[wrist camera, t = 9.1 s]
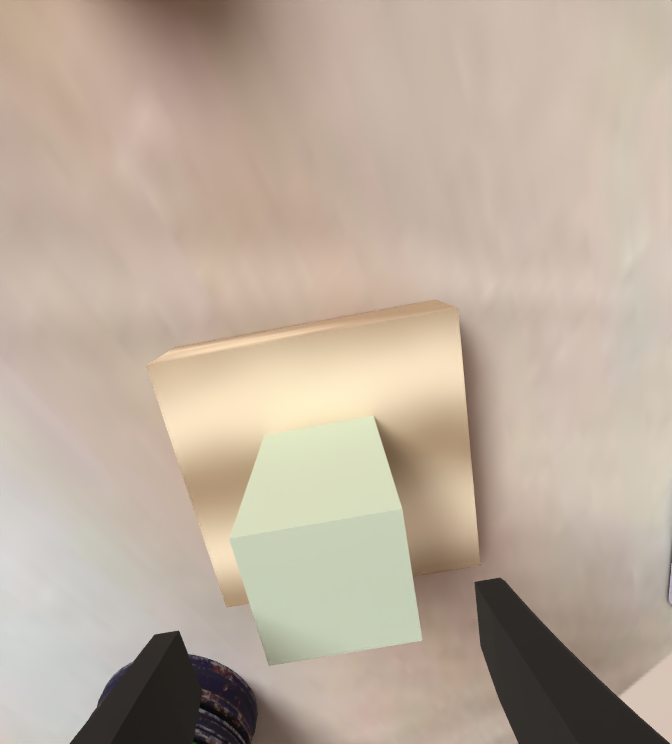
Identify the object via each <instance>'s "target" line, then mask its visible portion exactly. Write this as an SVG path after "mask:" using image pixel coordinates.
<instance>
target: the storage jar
mask: <svg viewBox="0 0 672 744" xmlns="http://www.w3.org/2000/svg"><path fill="white" fill-rule="evenodd" d="M188 655H189V654H188ZM189 658H190V660H191V663H192V665H193V668H194V671H195V673H196V676H197V678H198V681H199V683H200V686H201V689H202V696H201V702H200V708H199V714H198V720H197V725H196V730H195V735H194V740H193V744H253V743H252V737H253V735H254V732H255V727H256V720H257V704H256V700H255V697H254V695H253V693H252V691H251V689H250V688H249V686H248V685H247V684H246V682H245V681H244V680H243V679H242V678H241V677H240V676H239V675H237V674H236V673H235V672H233V671H232V670H230V669H229V668H228V667H226V666H224V665H222V664H220V663H218V662H215V661H213V660H210V659H207V658H204V657H199V656H195V655H189ZM132 663H133V662H132ZM132 663H130V664H128V665H127V666H125V667H123V668H122V669H120V670H119V671H118V672H117V673H116V674H114V675H113V677H112V678H111V679H110V680H109V682H108V683H107V685H106V687H105V689H104V691H103V693H102V695H101V697H100V699H99V701H98V705H97V708H98V707H99V706H100V705H101V703H102V702H103V701H104V699H105V698H106V697H107V695H108V694H109V693H110V692H111V690H112V689H113V688H114V686H115V685H116V684H117V683H118V681H119V680H120V679H121V677H122V676H123V675H124V673H125V672H126V671H127V670H128V668H129V667H130V666H131V664H132ZM97 708H96V709H95V710H94V712H95V711H96V710H97ZM94 712H93V713H94ZM93 713H92V714H91V716H92V715H93ZM91 716H90V717H91Z"/></svg>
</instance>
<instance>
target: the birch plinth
mask: <svg viewBox="0 0 672 744" xmlns="http://www.w3.org/2000/svg"><path fill="white" fill-rule="evenodd" d="M146 368H147V371H148V374H149V377H150V380H151V383H152V386H153V389H154V392H155V394H156V397H157V400H158V403H159V406H160V409H161V412H162V415H163V418H164V421H165V424H166V427H167V430H168V433H169V436H170V439H171V442H172V445H173V448H174V451H175V454H176V457H177V460H178V463H179V466H180V469H181V472H182V475H183V478H184V481H185V484H186V487H187V490H188V493H189V496H190V499H191V502H192V505H193V508H194V511H195V514H196V517H197V520H198V523H199V526H200V529H201V532H202V535H203V538H204V541H205V544H206V547H207V550H208V553H209V556H210V559H211V562H212V565H213V568H214V571H215V574H216V577H217V580H218V583H219V586H220V589H221V592H222V595H223V598H224V601H225V604H226V607H232V606H238V605H244V604H250V603H249V600H248V597H247V594H246V591H245V587H244V584H243V581H242V578H241V575H240V571H239V568H238V565H237V562H236V559H235V556H234V552H233V549H232V546H231V543H230V540H229V538H230V535H231V532H232V529H233V526H234V523H235V520H236V517H237V514H238V511H239V508H240V505H241V502H242V499H243V497H244V494H245V491H246V488H247V485H248V482H249V479H250V476H251V473H252V470H253V467H254V464H255V461H256V458H257V455H258V453H259V450H260V447H261V444H262V441H263V438H264V435H270V434H275V433H281V432H286V431H292V430H298V429H303V428H309V427H315V426H320V425H326V424H331V423H337V422H343V421H348V420H354V419H359V418H365V417H371V416H374V419H375V422H376V425H377V429H378V432H379V435H380V438H381V442H382V445H383V448H384V451H385V455H386V458H387V461H388V464H389V467H390V471H391V474H392V477H393V480H394V484H395V487H396V490H397V493H398V497H399V500H400V503H401V506H402V510H403V517H404V523H405V530H406V536H407V543H408V549H409V556H410V563H411V569H412V576H418V575H424V574H430V573H436V572H442V571H448V570H454V569H460V568H466V567H472V566H478V565H480V554H479V543H478V531H477V520H476V509H475V497H474V486H473V474H472V463H471V451H470V440H469V429H468V417H467V406H466V394H465V383H464V372H463V360H462V349H461V337H460V326H459V314H458V308H456V307H453V306H451V305H448V304H445V303H443V302H440V301H438V300H432V301H427V302H421V303H416V304H410V305H405V306H399V307H394V308H389V309H383V310H378V311H372V312H367V313H361V314H356V315H350V316H345V317H340V318H334V319H329V320H323V321H318V322H312V323H307V324H301V325H296V326H290V327H285V328H280V329H274V330H269V331H263V332H258V333H252V334H247V335H241V336H236V337H230V338H225V339H220V340H214V341H209V342H203V343H198V344H192V345H187V346H181V347H176V348H174V349H172V350H170V351H169V352H167V353H165V354H164V355H162V356H160V357H159V358H157V359H155V360H154V361H152V362H150V363H149V364H147V365H146Z"/></svg>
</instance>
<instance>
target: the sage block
mask: <svg viewBox="0 0 672 744" xmlns="http://www.w3.org/2000/svg"><path fill="white" fill-rule="evenodd" d="M229 540H230V543H231V546H232V549H233V552H234V556H235V559H236V562H237V565H238V568H239V571H240V575H241V578H242V581H243V584H244V587H245V591H246V594H247V597H248V600H249V603H250V607H251V610H252V613H253V616H254V619H255V623H256V626H257V629H258V632H259V635H260V639H261V642H262V645H263V648H264V651H265V655H266V658H267V661H268V664H269V666H270V665H276V664H283V663H289V662H295V661H301V660H307V659H313V658H319V657H325V656H332V655H338V654H344V653H350V652H356V651H362V650H368V649H374V648H381V647H387V646H393V645H399V644H405V643H411V642H417V641H422V634H421V628H420V621H419V615H418V608H417V602H416V595H415V589H414V582H413V576H412V569H411V563H410V556H409V549H408V543H407V536H406V530H405V523H404V517H403V510H402V506H401V503H400V500H399V497H398V493H397V490H396V487H395V484H394V480H393V477H392V474H391V471H390V467H389V464H388V461H387V458H386V455H385V451H384V448H383V445H382V442H381V438H380V435H379V432H378V429H377V425H376V422H375V419H374V416H371V417H365V418H359V419H354V420H348V421H343V422H337V423H331V424H326V425H320V426H315V427H309V428H303V429H298V430H292V431H286V432H281V433H275V434H270V435H264V438H263V441H262V444H261V447H260V450H259V453H258V455H257V458H256V461H255V464H254V467H253V470H252V473H251V476H250V479H249V482H248V485H247V488H246V491H245V494H244V497H243V499H242V502H241V505H240V508H239V511H238V514H237V517H236V520H235V523H234V526H233V529H232V532H231V535H230V538H229Z"/></svg>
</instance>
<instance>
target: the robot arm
mask: <svg viewBox="0 0 672 744" xmlns="http://www.w3.org/2000/svg"><path fill="white" fill-rule="evenodd" d="M475 591H476V602H477V612H478V623H479V634H480V644H481V649H482V652H483V654H484V657H485V660H486V663H487V666H488V669H489V672H490V675H491V678H492V680H493V683H494V686H495V689H496V692H497V695H498V697H499V700H500V702H501V705H502V707H503V709H504V711H505V714H506V716H507V718H508V720H509V723H510V725H511V727H512V729H513V732H514V734H515V736H516V739H517V741H518V743H519V744H670V743H669V742H668V741H667V740H665V739H664V738H663V737H662V736H661V735H660V734H659V733H657V732H656V731H655V730H654V729H653V728H652V727H651V726H649V725H648V724H647V723H646V722H645V721H644V720H643V719H642V718H640V717H639V716H638V715H637V714H636V713H635V712H634V711H633V710H632V709H631V708H629V707H628V706H627V705H626V704H625V703H624V702H623V701H622V700H621V699H620V698H619V697H617V696H616V695H615V694H614V693H613V692H612V691H611V690H610V689H609V688H608V687H607V686H606V685H605V684H604V683H602V682H601V681H600V680H599V679H598V678H597V677H596V676H595V675H594V674H593V673H592V672H591V671H590V670H589V669H588V668H587V667H586V666H585V665H584V664H583V663H582V662H581V661H580V660H579V659H578V658H577V657H576V656H575V655H574V654H573V653H572V652H571V651H570V650H569V649H568V648H567V647H566V646H565V645H564V644H563V643H562V642H561V641H560V640H559V639H558V638H557V637H556V636H555V635H554V634H553V633H552V632H551V631H550V630H549V629H548V628H547V627H546V626H545V625H544V624H543V623H542V622H541V620H540V619H539V618H538V617H537V616H536V615H535V614H534V613H533V612H532V611H531V610H530V609H529V608H528V607H527V605H526V604H525V603H524V602H523V601H522V600H521V599H520V598H519V597H518V595H517V594H516V593H515V592H514V591H513V590H512V589H511V587H510V586H509V585H508V584H507V583H506V582H505V581H504V580H503V579H501V578H496V579H490V580H484V581H478V582H475ZM668 600H669V603H670V604H671V605H672V565H671V577H670V588H669V599H668ZM201 696H202V689H201V686H200V683H199V681H198V678H197V676H196V673H195V671H194V668H193V665H192V663H191V660H190V658H189V655H188V653H187V650H186V647H185V645H184V642H183V640H182V637H181V635H180V632H179V631H174V632H168V633H162V634H156V635H154V636H153V637H152V639H151V640H150V641H149V642H148V644H147V645H146V646H145V647H144V649H143V650H142V651H141V653H140V654H139V655H138V657H137V658H136V659H135V660H134V662H133V663H132V664H131V666H130V667H129V668H128V670H127V671H126V672H125V673H124V675H123V676H122V677H121V679H120V680H119V681H118V683H117V684H116V685H115V686H114V688H113V689H112V690H111V692H110V693H109V694H108V695H107V697H106V698H105V699H104V701H103V702H102V703H101V705H100V706H99V707H98V708H97V710H96V711H95V712H94V713H93V715H92V716H91V717H90V718H89V720H88V721H87V722H86V724H85V725H84V726H83V727H82V729H81V730H80V731H79V732H78V734H77V735H76V736H75V737H74V739H73V740H72V741H71V743H70V744H193V740H194V735H195V730H196V725H197V720H198V714H199V708H200V702H201Z"/></svg>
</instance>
